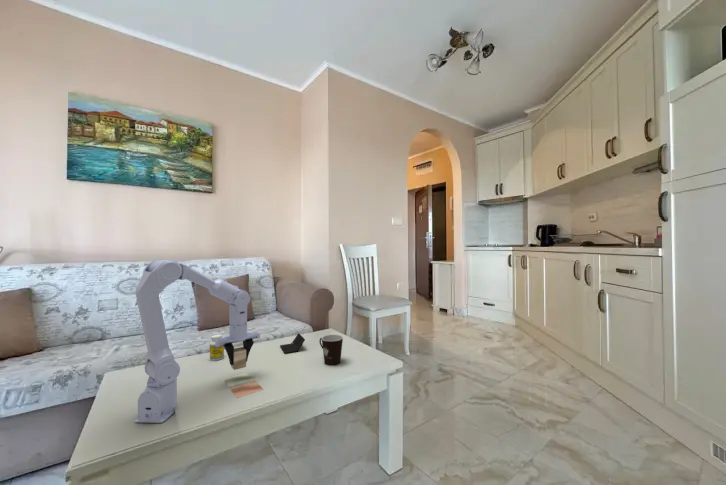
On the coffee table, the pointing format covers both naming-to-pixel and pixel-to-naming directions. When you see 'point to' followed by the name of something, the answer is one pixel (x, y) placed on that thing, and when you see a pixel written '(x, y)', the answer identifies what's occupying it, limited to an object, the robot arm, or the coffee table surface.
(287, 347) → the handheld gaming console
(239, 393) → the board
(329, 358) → the coffee mug
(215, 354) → the supplement bottle
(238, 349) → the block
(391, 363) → the coffee table surface
